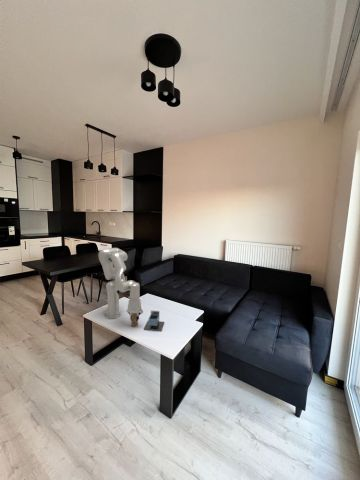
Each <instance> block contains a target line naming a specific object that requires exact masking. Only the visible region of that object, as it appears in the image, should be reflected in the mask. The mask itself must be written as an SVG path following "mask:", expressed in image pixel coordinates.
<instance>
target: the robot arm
mask: <svg viewBox="0 0 360 480" xmlns="http://www.w3.org/2000/svg"><path fill="white" fill-rule="evenodd" d="M128 257H129V255H128V254H127V252H125V251H124V250H122V249H120V248H118V247H112V248H111V247H110V248H104V249H101V250H100V251H99V252H98V260H99V262H100V264H101V266H102V270H103V271H102V272H103V274H104V277H105V280H107V281H108V282H107V283H106V285H105V288H106V293H107V309H103V314H105V318H107V319H109V320H111V319H113V320H114V319H117V318H120V316H121V314H122V312H121V311H120V296H119V293H118V291H119V292H120V293H125V292H127V291H128V292H129V296H128V297H127V298H128V303H127V309H126V311H125V312H126V313H127V314H129V316H130V317H129V318H130V320H131V313H137V321H138V322H139V320H140V315H142V314H143V313H144V310H143V309H142V301H141V299H140V293H141V292H140V289H141V288H140V287H141V286H140V283H139V282H136V281H135V280H131V279H129V280H126V278H125V274H124V272H125V271H126V270H127V266H126V264H125V262H126V261H127V260H128ZM109 280H110V281H109Z"/></svg>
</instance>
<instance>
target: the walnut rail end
mask: <svg viewBox="0 0 360 480" xmlns="http://www.w3.org/2000/svg"><path fill="white" fill-rule="evenodd" d="M130 321H131V327H133V328H134V327H135V328H137V326H138V325H139V320H138V321H137V313H131V319H130Z"/></svg>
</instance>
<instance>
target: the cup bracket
mask: <svg viewBox="0 0 360 480" xmlns="http://www.w3.org/2000/svg"><path fill="white" fill-rule="evenodd" d="M160 314H161V313H160V310H150V315H149V317H148V318H147V319H148V320H147V321H146V323H145V326H144V327H143V330H144V331H153V332H155V331H156V332H162V330H163V328H164V325H165V321H160Z"/></svg>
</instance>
